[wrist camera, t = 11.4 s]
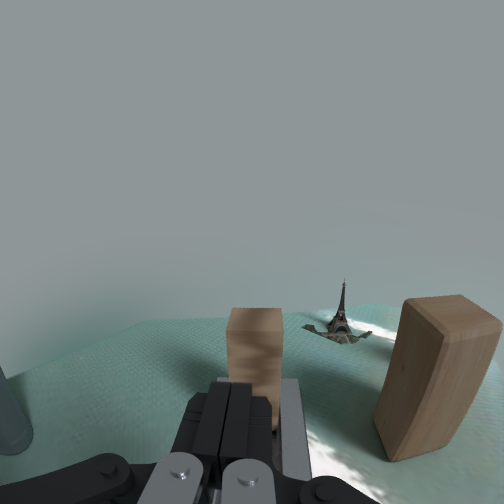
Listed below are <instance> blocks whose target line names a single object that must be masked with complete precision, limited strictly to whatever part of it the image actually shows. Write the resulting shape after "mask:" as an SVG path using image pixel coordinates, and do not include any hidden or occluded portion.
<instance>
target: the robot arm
mask: <svg viewBox="0 0 504 504" xmlns="http://www.w3.org/2000/svg"><path fill="white" fill-rule="evenodd" d="M32 436H33V430H32V427H31V425H30V423H29V422H28V420H27V418H26V417H25V415H24V413H23V411H22V409H21V408H20V406H19V404H18V402H17V400H16V398H15V396H14V394H13V392H12V390H11V388H10V386H9V384H8V382H7V380H6V378H5V376H4V373H3V371H2V369H1V367H0V453H1V454H4V455H15V454H18V453H20V452H22V451H23V450H25V449H26V448H27V447H28V445H29V444H30V442H31V440H32ZM215 489H217V490H222V498H221V504H380V503H378V502H376V501H375V500H373V499H371V498H370V497H368V496H367V495H365V494H363V493H362V492H360V491H359V490H357V489H355V488H354V487H352V486H351V485H349V484H348V483H346V482H345V481H343V480H342V479H340V478H337V477H334V476H319V477H315V478H313V479H311V480H309V481H303V480H298V479H294V478H290V477H287V476H285V475H283V474H281V473H280V472H279V471H278V470H277V469H276V468H275V466H274V464H273V461H272V405H271V403H270V402H269V400H268V399H267V397H266V396H252V383H242V382H233V383H232V382H222V381H212V382H211V384H210V388H209V392H208V393H198V392H197V393H196V394H195V395H194V396H193V397H192V398H191V399H190V400H189V401H188V404H187V407H186V410H185V413H184V415H183V418H182V421H181V424H180V427H179V429H178V432H177V435H176V438H175V441H174V444H173V446H172V449H171V451H170V453H169V454H167V455H165V456H163V457H162V458H161V459H160V460H159V461H158V462H156V463H152V464H128V463H127V461H126V460H125V459H124V458H123V457H121V456H119V455H116V454H113V453H104V454H100V455H97V456H95V457H92V458H90V459H87V460H84V461H82V462H79V463H76V464H74V465H71V466H68V467H65V468H62V469H60V470H57V471H54V472H50V473H47V474H44V475H41V476H37V477H34V478H30V479H27V480H23V481H19V482H15V483H11V484H7V485H2V486H0V504H213V498H214V493H215Z"/></svg>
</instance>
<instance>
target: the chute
mask: <svg viewBox="0 0 504 504" xmlns="http://www.w3.org/2000/svg"><path fill="white" fill-rule="evenodd" d="M217 381H222V382H229V378H228V377H218V378H217ZM272 461H273V464H274V466H275V468H276V469H277V470H278V471H279V472H280V473H281V474H283V475H285V476H287V477H290V478H294V479H298V480H303V481H309V480H311V479H312V472H311V463H310V455H309V448H308V440H307V432H306V425H305V418H304V411H303V404H302V397H301V390H300V389H299V383H298V378H290V379H281V388H280V403H279V416H278V429H277V431H272ZM221 498H222V490H217V489H215V493H214V498H213V504H221Z"/></svg>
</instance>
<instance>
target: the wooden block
mask: <svg viewBox="0 0 504 504" xmlns="http://www.w3.org/2000/svg"><path fill="white" fill-rule="evenodd" d="M502 326H503V324H502V322H501V321H500V320H499V319H497V318H496V317H495V316H493V315H492V314H490V313H488V312H487V311H486V310H484V309H482V308H481V307H479V306H478V305H476V304H475V303H473V302H472V301H470V300H469V299H467V298H465V297H464V296H462V295H450V296H439V297H425V298H411V299H407V300H405V301H404V304H403V307H402V312H401V317H400V322H399V327H398V332H397V336H396V340H395V345H394V349H393V353H392V357H391V361H390V364H389V368H388V372H387V375H386V378H385V382H384V385H383V388H382V392H381V395H380V398H379V401H378V404H377V407H376V410H375V412H374V416H373V419H374V423H375V425H376V428H377V430H378V433H379V435H380V438H381V440H382V443H383V446H384V448H385V451H386V454H387V456H388V459H389V460H390V461H391V462H397V461H401V460H405V459H408V458H412V457H415V456H418V455H422V454H425V453H428V452H431V451H434V450H437V449H440V448H442V447H444V446H446V445H447V444H448V443H449V442H450V441H451V439H452V437H453V436H454V434H455V433H456V431H457V429H458V428H459V426H460V424H461V422H462V421H463V419H464V417H465V415H466V414H467V412H468V410H469V408H470V406H471V404H472V402H473V400H474V398H475V396H476V394H477V392H478V390H479V388H480V386H481V384H482V381H483V379H484V377H485V375H486V372H487V370H488V367H489V365H490V363H491V360H492V357H493V355H494V352H495V349H496V347H497V344H498V341H499V338H500V335H501V332H502Z"/></svg>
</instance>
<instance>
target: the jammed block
mask: <svg viewBox="0 0 504 504" xmlns="http://www.w3.org/2000/svg"><path fill="white" fill-rule="evenodd" d="M283 334H284V330H283V321H282V312H281V308H232V311H231V315H230V318H229V322H228V325H227V329H226V339H227V356H228V373H229V382H232V383H233V382H242V383H252V396H266V397H267V399H268V400H269V402H270V403H271V405H272V431H277V429H278V416H279V403H280V388H281V372H282V354H283Z"/></svg>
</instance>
